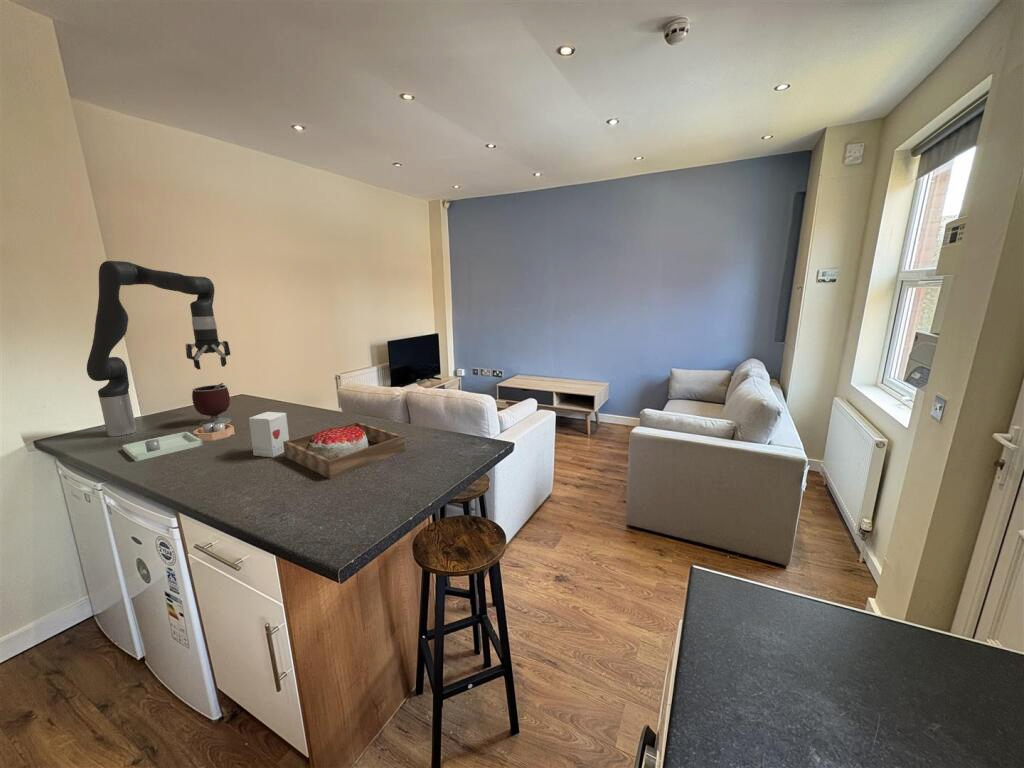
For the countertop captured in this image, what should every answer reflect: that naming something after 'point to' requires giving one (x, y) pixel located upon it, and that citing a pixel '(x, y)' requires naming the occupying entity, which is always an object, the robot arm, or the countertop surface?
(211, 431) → the pebble
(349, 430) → the cake
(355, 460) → the wooden tray
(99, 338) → the robot arm
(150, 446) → the grey rounded knob
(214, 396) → the mate gourd
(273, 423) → the supplement box
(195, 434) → the bowl
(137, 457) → the tray
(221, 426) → the pebble
